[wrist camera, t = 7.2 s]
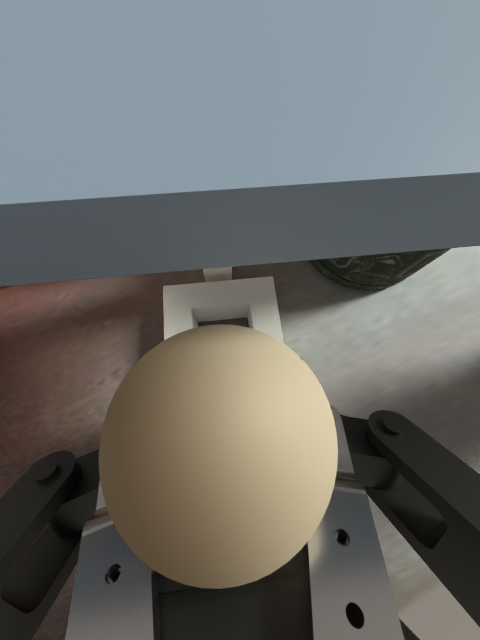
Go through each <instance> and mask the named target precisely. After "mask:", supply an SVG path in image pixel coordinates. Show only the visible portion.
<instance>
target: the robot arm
mask: <svg viewBox="0 0 480 640" xmlns="http://www.w3.org/2000/svg"><path fill="white" fill-rule="evenodd" d="M301 359H302V358H301ZM302 360H303V359H302ZM330 407H331V411H332V414H333V417H334V422H335V427H336V432H337V444H338V462H337V472H336V478H335V484H334V488H333V492H332V495H331V498H330V502H329V504H328V507H327V509H326V511H325V514H324V516H323V518H322V520H321V522H320V524H319V525H318V527H317V529H316V530H315V532H314V534H313V535H312V536H311V538H310V539H309V540H308V541H307V543H306V544H305V545H304V546H303V548H302V549H301V550H300V551H299V552H298V553H297V554H296V555H295V556H294V557H293V558H292V559H290V560H289V561H288V562H287V563H286V564H284V565H283V566H281V567H280V568H279V569H277V570H276V571H274V572H273V573H271V574H269V575H267V576H265V577H263V578H261V579H259V580H257V581H254V582H251V583H248V584H244V585H241V586H237V587H230V588H222V589H214V588H199V587H194V586H189V585H185V584H182V583H179V582H177V581H174V580H171V579H169V578H167V577H165V576H163V575H162V574H160V573H158V572H157V571H155V570H153V569H152V568H151V567H149V566H148V565H147V564H146V563H144V562H143V561H142V560H141V559H139V558H138V557H137V555H136V554H135V553H134V552H133V551H132V550H131V549H130V548H129V547H128V545H127V544H126V543H125V541H124V540H123V538H122V537H121V535H120V534H119V532H118V531H117V529H116V527H115V525H114V523H113V521H112V519H111V517H110V515H109V513H108V510H107V507H106V503H105V500H104V497H103V493H102V488H101V483H100V476H99V449H98V450H96V451H94V452H91V453H89V454H86V455H84V456H81V457H79V458H75V456H74V455H73V454H72V453H71V452H69V451H58V452H54V453H52V454H49V455H47V456H45V457H44V458H42V459H41V460H39V461H38V462H36V463H35V464H34V465H33V466H32V467H31V468H30V469H29V470H28V471H27V472H26V473H25V474H24V475H23V476H22V477H21V478H20V479H19V480H18V481H17V482H16V483H15V484H14V485H13V486H12V487H11V488H10V489H9V491H8V492H7V493H6V494H5V495H4V496H3V497H2V498H1V499H0V640H31V639H32V637H33V636H34V634H35V632H36V631H37V629H38V627H39V626H40V624H41V622H42V621H43V619H44V617H45V616H46V614H47V612H48V611H49V609H50V607H51V606H52V604H53V602H54V601H55V599H56V597H57V596H58V594H59V592H60V591H61V589H62V587H63V586H64V584H65V582H66V581H67V579H68V577H69V576H70V574H71V572H72V571H73V569H74V567H75V566H76V564H77V568H76V575H75V581H74V587H73V593H72V600H71V606H70V612H69V619H68V625H67V631H66V637H65V640H420V639H419V638H418V637H417V636H416V635H415V634H414V633H413V632H412V631H411V630H410V629H409V628H408V627H407V626H406V625H405V624H404V623H403V622H402V621H401V620H400V619H399V617H398V613H397V609H396V605H395V601H394V597H393V594H392V590H391V586H390V582H389V578H388V574H387V571H386V567H385V563H384V559H383V555H382V551H381V547H380V544H379V540H378V536H377V532H376V528H375V524H374V520H373V517H372V513H371V509H370V505H369V501H368V497H367V494H368V496H369V497H370V498H371V499H372V500H373V501H374V503H375V504H376V505H377V506H378V507H379V509H380V510H381V511H382V512H383V513H384V515H385V516H386V517H387V518H388V519H389V520H390V522H391V523H392V524H393V525H394V526H395V528H396V529H397V530H398V531H399V532H400V533H401V535H402V536H403V537H404V538H405V539H406V541H407V542H408V543H409V544H410V545H411V546H412V548H413V549H414V550H415V551H416V552H417V554H418V555H419V556H420V557H421V558H422V560H423V561H424V562H425V563H426V564H427V565H428V567H429V568H430V569H431V570H432V571H433V573H434V574H435V575H436V576H437V577H438V578H439V580H440V581H441V582H442V583H443V584H444V586H445V587H446V588H447V589H448V590H449V591H450V593H451V594H452V595H453V596H454V597H455V598H456V600H457V601H458V602H459V603H460V604H461V606H462V607H463V608H464V609H465V610H466V612H467V613H468V614H469V615H470V616H471V617H472V619H473V620H474V621H475V622H476V623H477V625H478V626H479V627H480V474H479V473H477V472H476V471H475V470H473V469H472V468H471V467H469V466H468V465H467V464H466V463H464V462H463V461H462V460H460V459H459V458H458V457H456V456H455V455H454V454H452V453H451V452H450V451H449V450H447V449H446V448H445V447H443V446H442V445H441V444H439V443H438V442H437V441H435V440H434V439H433V438H432V437H430V436H429V435H428V434H426V433H425V432H424V431H422V430H421V429H420V428H418V427H417V426H416V425H414V424H413V423H412V422H411V421H409V420H408V419H406V418H405V417H403V416H402V415H400V414H397V413H395V412H392V411H386V410H380V411H376V412H374V413H372V414H371V415H370V417H369V419H368V420H365V419H359V418H352V417H347V416H344V415H341V414H339V412H338V411H337V410H336V409H335V408H334V407H332V406H331V405H330ZM366 493H367V494H366ZM46 525H47V526H46ZM45 526H46V528H45ZM44 528H45V529H44ZM43 529H44V530H43ZM42 530H43V532H42ZM41 532H42V533H41ZM40 533H41V534H40ZM39 534H40V536H39V537H38V535H39ZM37 537H38V538H37ZM36 538H37V540H36V541H35V539H36ZM34 541H35V542H34ZM33 542H34V544H33V545H32V543H33ZM31 545H32V546H31ZM30 546H31V548H30V549H29V547H30ZM28 549H29V550H28ZM27 550H28V552H27V553H26V551H27ZM25 553H26V554H25ZM24 554H25V556H24V557H23V555H24ZM22 557H23V558H22ZM21 558H22V560H21V561H20V559H21ZM19 561H20V562H19ZM18 562H19V564H18V565H17V563H18ZM16 565H17V566H16ZM15 566H16V568H15V569H14V567H15ZM13 569H14V570H13ZM12 570H13V572H12V573H11V571H12ZM10 573H11V574H10ZM9 574H10V576H9ZM8 576H9V577H8ZM7 577H8V578H7ZM6 579H7V580H6Z"/></svg>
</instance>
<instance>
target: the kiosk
mask: <svg viewBox="0 0 480 640" xmlns="http://www.w3.org/2000/svg"><path fill="white" fill-rule="evenodd" d="M469 246H480V0H0V286H11V285H23V284H34V283H46V282H58V281H69V280H81V279H93V278H105V277H116V276H128V275H140V274H152V273H163V272H175V271H187V270H199V269H203V273H204V277H205V281H206V282H202V283H191V284H179V285H168V286H163V310H164V340H166V339H168V338H170V337H172V336H174V335H176V334H178V333H180V332H183V331H186V330H189V329H192V328H196V327H198V322H206V321H217V320H227V319H237V318H248V325H249V328H251V329H254V330H258V331H261V332H263V333H265V334H267V335H269V336H272V337H273V338H275V339H277V340H278V341H280V342H282V343H283V344H284V341H283V335H282V329H281V323H280V317H279V311H278V304H277V298H276V292H275V286H274V280H273V276H270V277H259V278H247V279H236V280H232V267H234V266H246V265H257V264H269V263H281V262H293V261H304V260H316V259H328V258H340V257H351V256H363V255H375V254H387V253H398V252H410V251H422V250H434V249H445V248H457V247H469Z"/></svg>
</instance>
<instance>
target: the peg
mask: <svg viewBox="0 0 480 640" xmlns="http://www.w3.org/2000/svg"><path fill="white" fill-rule="evenodd" d="M337 462H338V444H337V432H336V427H335V422H334V417H333V414H332V411H331V407H330V404H329V401H328V399H327V397H326V395H325V393H324V390H323V388H322V386H321V385H320V383H319V381H318V380H317V378H316V376H315V375H314V373H313V372H312V371H311V370H310V368H309V367H308V366H307V364H306V363H305V362H304V361H303V360H302V359H301V358H300V357H299V356H298V355H297V354H296V353H295V352H294V351H292V350H291V349H290V348H289V347H287V346H286V345H285V344H283V343H282V342H280V341H278V340H277V339H275V338H273V337H272V336H269V335H267V334H265V333H263V332H261V331H258V330H254V329H251V328H248V327H243V326H237V325H225V324H217V325H205V326H201V327H196V328H192V329H189V330H186V331H183V332H180V333H178V334H176V335H174V336H172V337H170V338H168V339H166V340H164V341H163V342H161V343H159V344H158V345H156V346H155V347H153V348H152V349H151V350H150V351H149V352H147V353H146V354H145V355H144V356H143V357H142V358H141V359H140V360H139V361H138V362H137V363H136V364H135V365H134V366H133V367H132V368H131V370H130V371H129V372H128V374H127V375H126V376H125V378H124V379H123V380H122V382H121V384H120V385H119V387H118V389H117V391H116V392H115V394H114V396H113V398H112V401H111V403H110V405H109V408H108V410H107V413H106V417H105V420H104V423H103V427H102V433H101V438H100V445H99V476H100V483H101V488H102V493H103V497H104V500H105V503H106V507H107V510H108V513H109V515H110V517H111V519H112V521H113V523H114V525H115V527H116V529H117V531H118V532H119V534H120V535H121V537H122V538H123V540H124V541H125V543H126V544H127V545H128V547H129V548H130V549H131V550H132V551H133V552H134V553H135V554H136V555H137V557H138V558H139V559H141V560H142V561H143V562H144V563H146V564H147V565H148V566H149V567H151V568H152V569H153V570H155V571H157V572H158V573H160V574H162V575H163V576H165V577H167V578H169V579H171V580H174V581H177V582H179V583H182V584H185V585H189V586H194V587H199V588H214V589H222V588H230V587H237V586H241V585H244V584H248V583H251V582H254V581H257V580H259V579H261V578H263V577H265V576H267V575H269V574H271V573H273V572H274V571H276V570H277V569H279V568H280V567H281V566H283V565H284V564H286V563H287V562H288V561H289V560H290V559H292V558H293V557H294V556H295V555H296V554H297V553H298V552H299V551H300V550H301V549H302V548H303V546H304V545H305V544H306V543H307V541H308V540H309V539H310V538H311V536H312V535H313V534H314V532H315V530H316V529H317V527H318V525H319V524H320V522H321V520H322V518H323V516H324V514H325V511H326V509H327V507H328V504H329V502H330V498H331V495H332V492H333V488H334V484H335V478H336V472H337Z"/></svg>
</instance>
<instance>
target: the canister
mask: <svg viewBox="0 0 480 640" xmlns="http://www.w3.org/2000/svg"><path fill="white" fill-rule="evenodd" d="M450 249H451V248H445V249H434V250H422V251H410V252H398V253H387V254H375V255H363V256H351V257H340V258H328V259H316V260H311V261H312V262H313V263H314V265H315V266H316V267H317V268H318V269H319V270H320V271H321V272H322V273H323V274H324V275H326V276H327V277H329V278H330V279H332V280H336V281H338V282H340V283H342V284H344V285H347V286H350V287H354V288H358V289H368V290H375V289H384V288H387V287H390V286H394V285H395V284H397V283H399V282H401V281H403V280H404V279H406V278H407V277H409V276H410V275H412V274H414V273H415V272H417V271H418V270H420V269H421V268H423V267H424V266H426V265H427V264H429V263H430V262H432V261H433V260H435V259H436V258H438V257H439V256H441V255H442V254H444V253H445V252H447V251H448V250H450Z"/></svg>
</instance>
